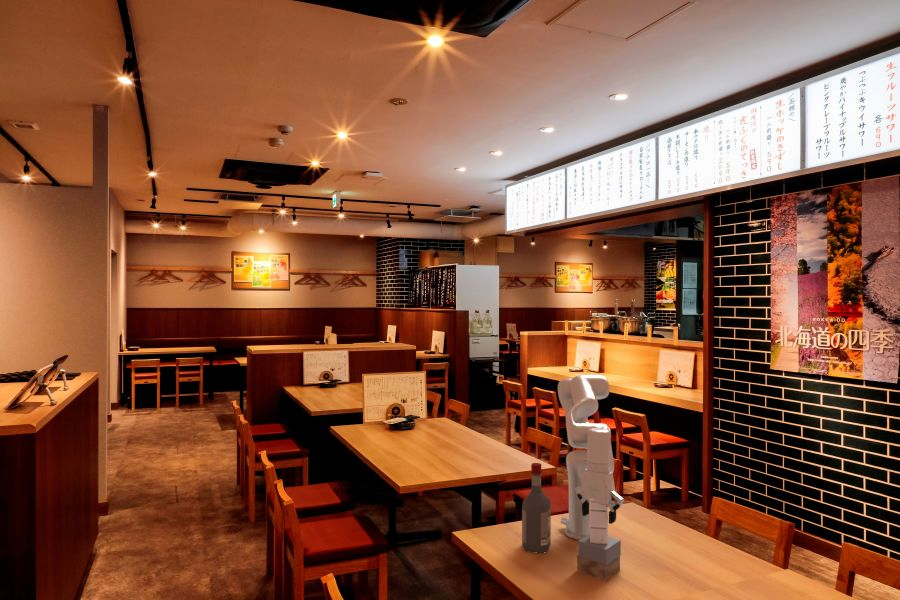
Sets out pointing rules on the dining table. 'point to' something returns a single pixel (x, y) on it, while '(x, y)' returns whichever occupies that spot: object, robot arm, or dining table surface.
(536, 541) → the liquor
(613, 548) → the grey square block
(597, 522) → the syrup box
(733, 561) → the dining table surface
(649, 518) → the dining table surface
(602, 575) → the walnut block
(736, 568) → the dining table surface
